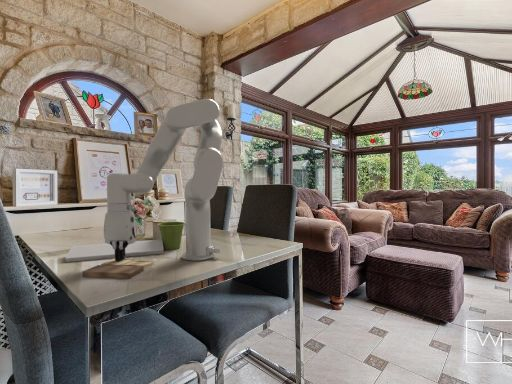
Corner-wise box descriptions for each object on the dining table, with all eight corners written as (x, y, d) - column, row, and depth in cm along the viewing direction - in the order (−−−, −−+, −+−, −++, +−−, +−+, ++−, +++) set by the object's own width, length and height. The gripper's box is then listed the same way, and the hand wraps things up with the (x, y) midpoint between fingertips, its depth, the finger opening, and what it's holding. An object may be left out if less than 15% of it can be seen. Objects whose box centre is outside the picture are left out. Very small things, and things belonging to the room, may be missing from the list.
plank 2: (154, 266, 97) (154, 261, 97) (143, 270, 90) (144, 264, 90) (134, 265, 98) (134, 260, 98) (122, 269, 91) (123, 264, 91)
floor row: (143, 270, 90) (143, 266, 90) (130, 278, 82) (130, 273, 82) (99, 269, 92) (99, 264, 91) (82, 276, 84) (82, 271, 84)
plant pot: (152, 248, 122) (152, 223, 122) (176, 244, 131) (175, 221, 131) (166, 252, 114) (166, 226, 114) (190, 247, 123) (190, 223, 123)
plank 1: (133, 263, 98) (133, 258, 98) (121, 269, 91) (121, 264, 91) (114, 262, 99) (114, 258, 99) (101, 268, 92) (101, 263, 92)
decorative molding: (163, 260, 113) (162, 249, 122) (163, 250, 112) (162, 239, 121) (66, 269, 101) (73, 256, 110) (65, 258, 100) (72, 245, 108)
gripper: (144, 207, 99) (145, 257, 99) (107, 207, 101) (107, 256, 101) (133, 209, 91) (133, 263, 92) (92, 209, 93) (93, 262, 94)
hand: (120, 259), depth 96 cm, fingers closed
